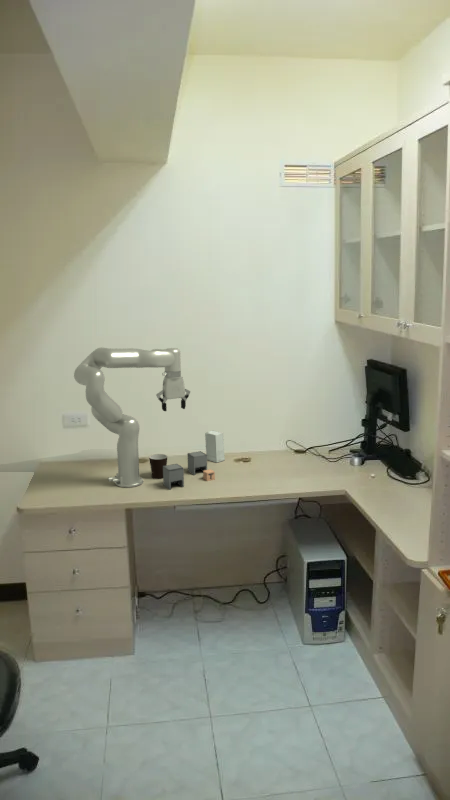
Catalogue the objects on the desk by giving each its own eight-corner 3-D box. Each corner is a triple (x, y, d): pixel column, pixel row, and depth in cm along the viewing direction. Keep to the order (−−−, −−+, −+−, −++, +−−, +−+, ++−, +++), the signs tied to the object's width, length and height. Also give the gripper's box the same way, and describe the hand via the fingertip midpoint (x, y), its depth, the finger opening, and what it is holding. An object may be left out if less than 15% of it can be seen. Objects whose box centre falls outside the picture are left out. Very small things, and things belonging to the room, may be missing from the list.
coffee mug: (164, 480, 270) (164, 459, 268) (147, 479, 272) (146, 458, 270) (172, 472, 281) (171, 452, 279) (155, 471, 283) (154, 451, 281)
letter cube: (207, 481, 268) (207, 473, 268) (203, 478, 272) (203, 470, 271) (214, 479, 270) (214, 471, 269) (210, 477, 274) (210, 469, 273)
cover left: (169, 489, 258) (169, 470, 256) (163, 484, 264) (162, 466, 262) (183, 486, 261) (183, 467, 259) (177, 482, 267) (177, 463, 265)
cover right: (194, 475, 277) (193, 457, 275) (187, 471, 283) (187, 453, 281) (207, 472, 280) (206, 454, 278) (200, 468, 286) (200, 451, 284)
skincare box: (224, 460, 298) (224, 432, 295) (216, 463, 294) (215, 434, 291) (213, 457, 304) (213, 429, 301) (205, 459, 300) (204, 431, 297)
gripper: (159, 377, 267) (160, 413, 271) (192, 373, 276) (193, 409, 279) (152, 374, 274) (154, 410, 277) (186, 371, 282) (186, 406, 286)
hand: (173, 409), depth 278 cm, fingers open, 9 cm apart
